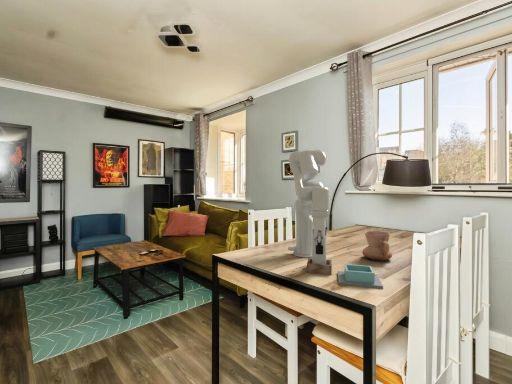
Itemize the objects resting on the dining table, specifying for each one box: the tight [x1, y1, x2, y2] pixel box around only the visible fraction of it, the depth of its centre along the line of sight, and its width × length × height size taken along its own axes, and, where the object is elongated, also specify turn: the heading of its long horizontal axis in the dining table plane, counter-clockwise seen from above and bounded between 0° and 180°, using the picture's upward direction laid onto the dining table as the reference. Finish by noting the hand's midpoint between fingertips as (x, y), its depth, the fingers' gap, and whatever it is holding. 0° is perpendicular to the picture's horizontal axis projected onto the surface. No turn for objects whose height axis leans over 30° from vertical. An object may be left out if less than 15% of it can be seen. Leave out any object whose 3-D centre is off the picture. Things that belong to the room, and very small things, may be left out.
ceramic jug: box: [361, 230, 393, 262], centre depth 144 cm, size 18×14×14 cm
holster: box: [306, 257, 333, 276], centre depth 125 cm, size 11×10×4 cm
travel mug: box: [311, 226, 328, 265], centre depth 125 cm, size 6×7×20 cm
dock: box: [337, 263, 384, 290], centre depth 112 cm, size 16×14×5 cm
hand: (319, 251), depth 124 cm, fingers open, 9 cm apart
